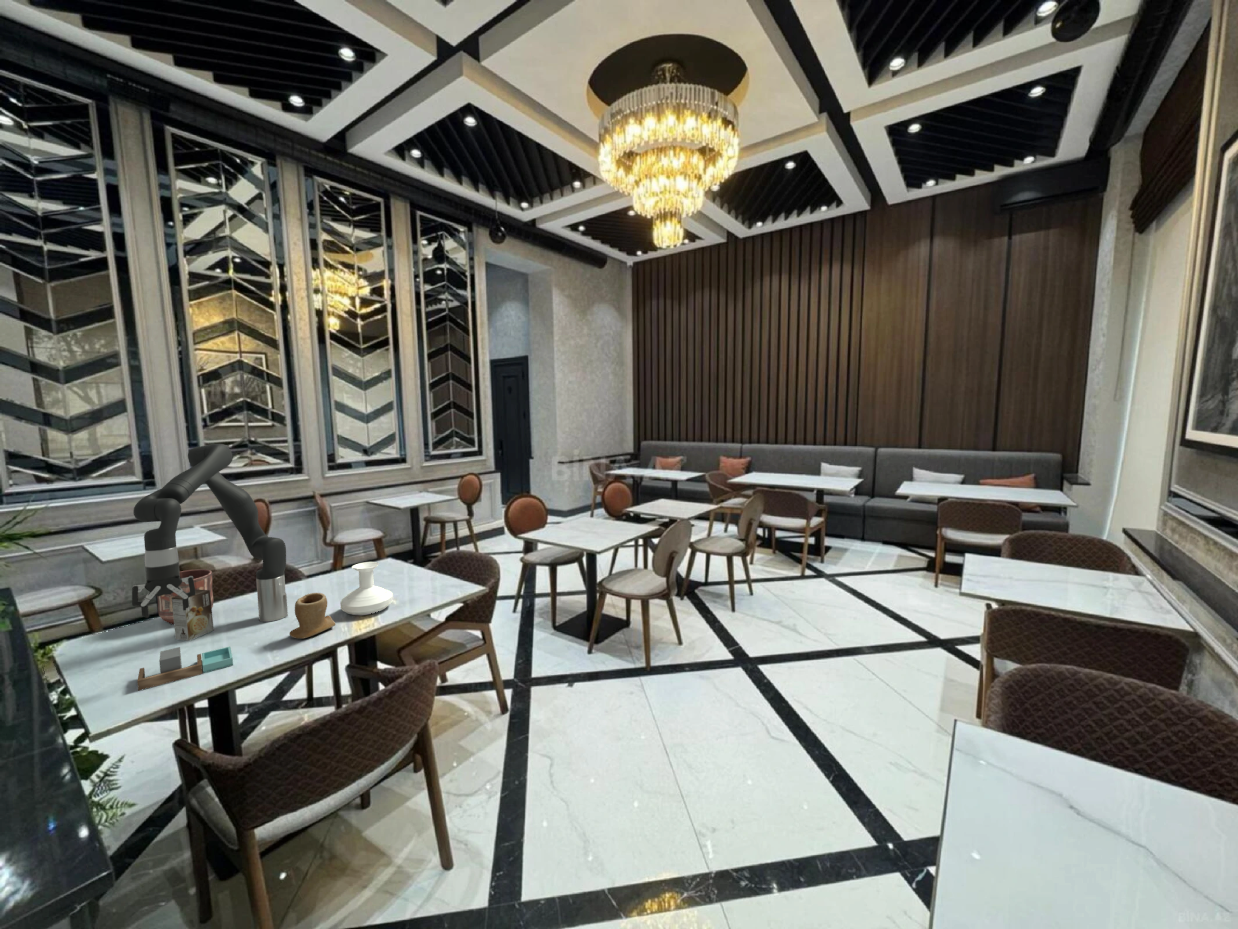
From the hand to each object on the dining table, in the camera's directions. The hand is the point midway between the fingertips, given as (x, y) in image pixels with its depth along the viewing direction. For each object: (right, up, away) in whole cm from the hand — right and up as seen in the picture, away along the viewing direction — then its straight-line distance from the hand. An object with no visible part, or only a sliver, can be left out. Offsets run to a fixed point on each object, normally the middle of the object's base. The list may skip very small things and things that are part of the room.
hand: (166, 613), depth 149 cm
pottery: (-34, -16, +45) cm, 59 cm away
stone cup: (+26, -18, +32) cm, 45 cm away
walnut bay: (0, -20, +2) cm, 20 cm away
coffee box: (-18, -18, +30) cm, 39 cm away
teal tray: (+8, -19, +9) cm, 23 cm away
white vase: (+35, -16, +54) cm, 66 cm away
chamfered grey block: (0, -20, +2) cm, 20 cm away
